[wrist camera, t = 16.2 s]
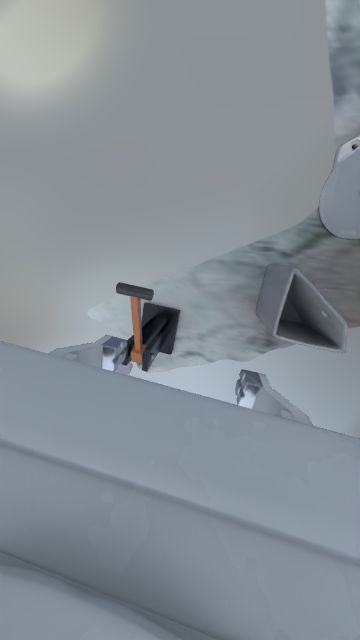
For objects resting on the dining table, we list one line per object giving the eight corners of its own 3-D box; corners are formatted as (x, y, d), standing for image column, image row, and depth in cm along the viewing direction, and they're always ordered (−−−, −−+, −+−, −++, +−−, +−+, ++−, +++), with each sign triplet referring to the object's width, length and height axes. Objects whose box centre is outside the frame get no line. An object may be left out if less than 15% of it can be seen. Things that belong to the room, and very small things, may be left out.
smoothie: (115, 371, 56) (84, 406, 43) (116, 352, 54) (84, 382, 40) (136, 376, 55) (111, 413, 42) (137, 357, 53) (112, 389, 40)
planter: (237, 285, 43) (254, 304, 24) (270, 263, 40) (317, 266, 22) (273, 342, 45) (314, 397, 27) (307, 324, 43) (377, 372, 24)
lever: (121, 278, 27) (113, 287, 25) (154, 286, 27) (148, 295, 25) (129, 350, 38) (124, 359, 36) (153, 356, 38) (149, 366, 36)
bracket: (145, 302, 48) (114, 321, 33) (180, 310, 47) (164, 333, 32) (140, 344, 52) (110, 378, 37) (172, 352, 51) (154, 391, 36)
